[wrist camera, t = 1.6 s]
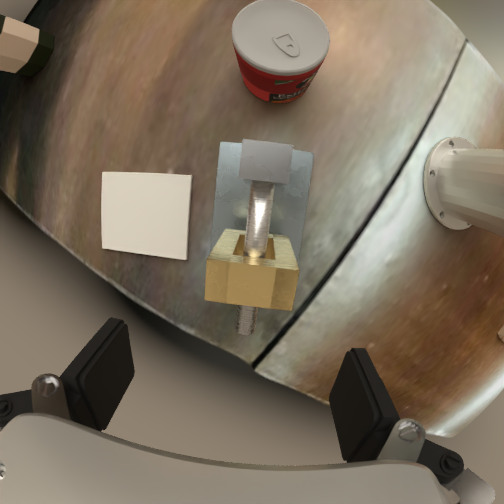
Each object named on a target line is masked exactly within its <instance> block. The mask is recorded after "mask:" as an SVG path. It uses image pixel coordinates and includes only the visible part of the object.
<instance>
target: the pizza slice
mask: <svg viewBox="0 0 504 504" xmlns="http://www.w3.org/2000/svg"><path fill="white" fill-rule="evenodd" d="M498 336H499V337H500V339H501V340H502V341H503V342H504V325H503V327H502V328H501V329H500V330H499V332H498Z"/></svg>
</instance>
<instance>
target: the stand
mask: <svg viewBox="0 0 504 504" xmlns="http://www.w3.org/2000/svg"><path fill="white" fill-rule="evenodd" d="M293 146H294V145H289V144H282V143H275V142H267V141H258V140H249V139H243V141H242V144H241V143H230V142H221V143H220V152H219V161H218V170H217V180H216V190H215V201H214V212H213V224H212V237H211V250H210V253H211V251H212V250H213V248H214V247H215V245H216V243H217V242H218V240H219V238H220V237H221V235H222V234H223V232H224V230H225V229H234V230H242V231H246V233H245V242H244V251H243V256H247V257H255V258H264V259H265V256H266V249H267V241H268V234H275V235H283V236H288V237H289V240H290V243H291V246H292V249H293V252H294V255H295V258H296V261H297V262H298V256H299V251H300V245H301V239H302V232H303V226H304V220H305V213H306V207H307V200H308V193H309V186H310V179H311V171H312V164H313V156H314V153H310V152H304V151H298V150H293ZM257 313H258V307H253V306H245V305H238V307H237V317H236V326H235V330H236V332H237V333H239V334H242V335H251V334H253V333H254V332H255V327H256V320H257Z"/></svg>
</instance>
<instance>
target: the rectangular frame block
mask: <svg viewBox="0 0 504 504" xmlns="http://www.w3.org/2000/svg"><path fill="white" fill-rule="evenodd" d="M245 233H246V231H242V230H234V229H225V230H224V232H223V234H222V235H221V237H220V238H219V240H218V242H217V243H216V245H215V247H214V248H213V250H212V251H211V253H210V255H209V256H208V258H207V265H206V283H205V300H208V301H215V302H222V303H229V304H237V305H245V306H253V307H261V308H270V309H280V310H289V311H292V307H293V302H294V297H295V292H296V286H297V281H298V276H299V271H300V270H299V267H298V264H297V261H296V258H295V255H294V252H293V249H292V246H291V243H290V240H289V237H288V236H283V235H275V234H268V241H267V249H266V256H265V259H264V258H255V257H247V256H243V251H244V242H245Z"/></svg>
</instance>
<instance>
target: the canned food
mask: <svg viewBox="0 0 504 504" xmlns="http://www.w3.org/2000/svg"><path fill="white" fill-rule="evenodd" d="M232 41H233V45H234V49H235V53H236V56H237V60H238V63H239V67H240V71H241V74H242V78H243V81H244V83H245V85H246V86H247V88H248V89H249V90H250V91H251V92H252V93H253V94H254V95H255V96H257V97H259V98H260V99H263V100H265V101H268V102H273V103H285V102H290V101H293V100H295V99H297V98H299V97H300V96H301V95H302V94H304V93H305V91H306V90H307V88H308V87H309V85H310V83H311V82H312V80H313V78H314V76H315V75H316V73H317V71H318V70H319V68H320V66H321V65H322V63H323V61H324V59H325V57H326V55H327V52H328V49H329V44H330V36H329V31H328V29H327V26H326V24H325V23H324V21H323V20H322V18H321V17H320V16H319V15H318V14H317V13H316V12H315V11H313V10H312V9H311V8H309V7H308V6H306V5H304V4H302V3H299V2H297V1H294V0H258V1H255V2H253V3H251V4H249V5H247V6H246V7H245V8H243V9H242V10H241V11H240V12H239V13H238V14H237V16H236V18H235V19H234V22H233V25H232Z"/></svg>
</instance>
